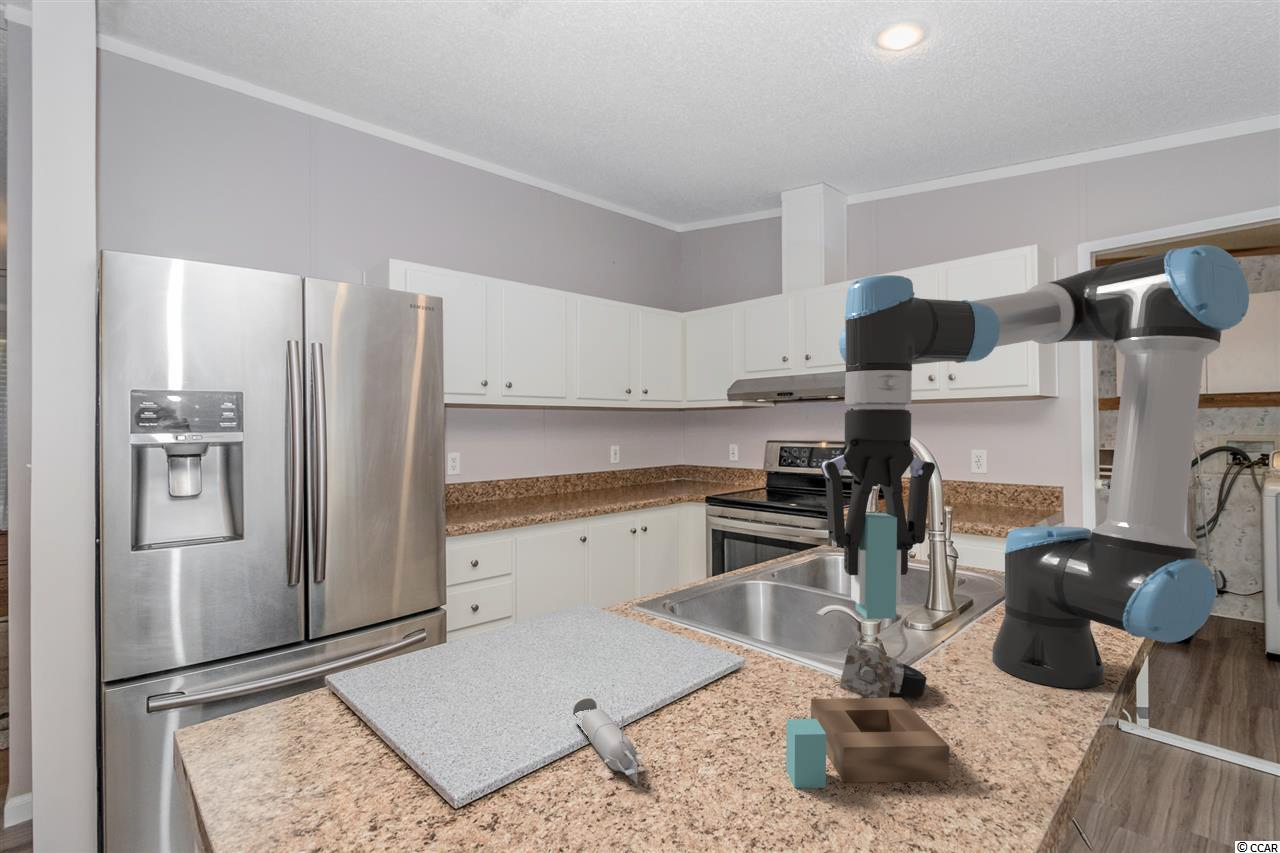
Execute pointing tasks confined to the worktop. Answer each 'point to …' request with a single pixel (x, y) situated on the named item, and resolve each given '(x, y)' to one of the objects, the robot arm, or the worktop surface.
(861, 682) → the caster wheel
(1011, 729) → the worktop surface
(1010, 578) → the robot arm
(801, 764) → the short pin
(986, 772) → the worktop surface
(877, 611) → the long pin
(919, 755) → the hole block
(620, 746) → the torpedo
